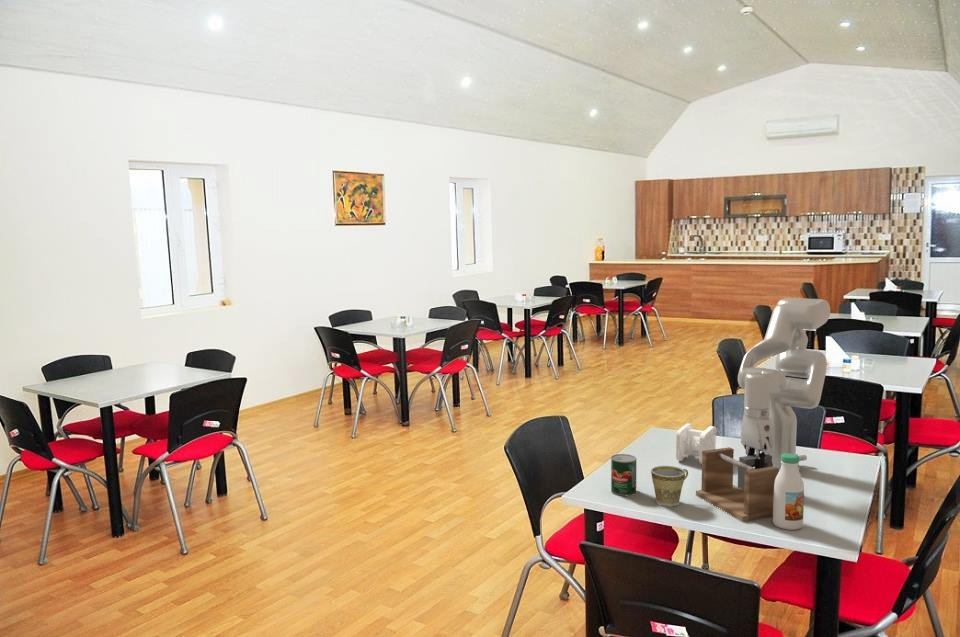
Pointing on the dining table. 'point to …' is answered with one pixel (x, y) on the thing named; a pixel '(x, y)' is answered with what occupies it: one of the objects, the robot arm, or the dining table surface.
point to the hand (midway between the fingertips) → (755, 468)
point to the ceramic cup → (668, 484)
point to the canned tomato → (623, 474)
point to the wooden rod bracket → (730, 497)
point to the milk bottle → (788, 494)
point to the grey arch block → (750, 461)
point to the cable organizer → (694, 442)
